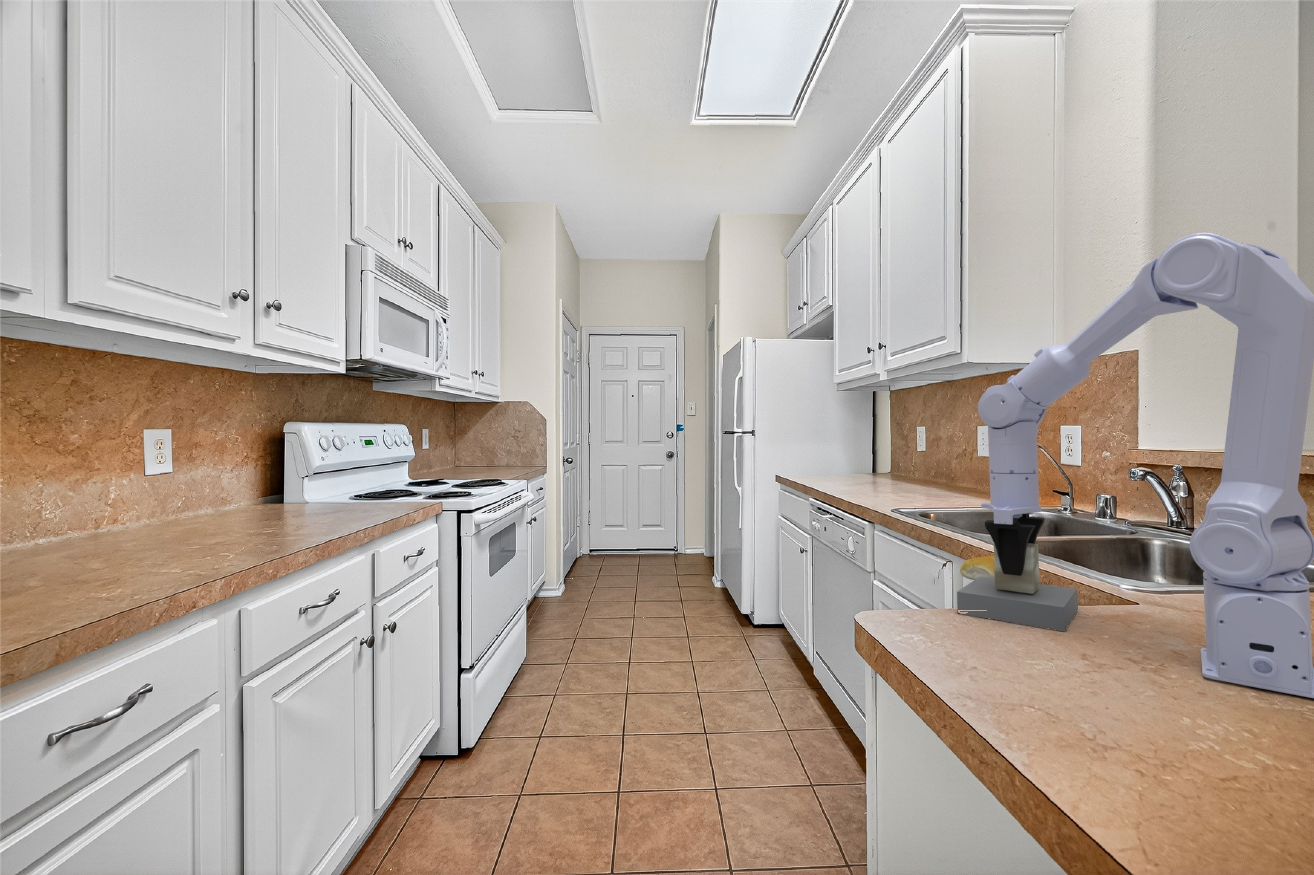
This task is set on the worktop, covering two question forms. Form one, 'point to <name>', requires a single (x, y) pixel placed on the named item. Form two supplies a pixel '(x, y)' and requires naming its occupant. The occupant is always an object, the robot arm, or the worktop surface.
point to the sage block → (1029, 576)
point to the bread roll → (978, 568)
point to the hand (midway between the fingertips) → (1016, 571)
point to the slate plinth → (1020, 604)
